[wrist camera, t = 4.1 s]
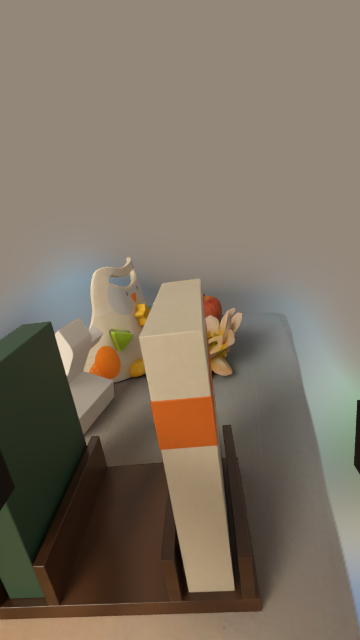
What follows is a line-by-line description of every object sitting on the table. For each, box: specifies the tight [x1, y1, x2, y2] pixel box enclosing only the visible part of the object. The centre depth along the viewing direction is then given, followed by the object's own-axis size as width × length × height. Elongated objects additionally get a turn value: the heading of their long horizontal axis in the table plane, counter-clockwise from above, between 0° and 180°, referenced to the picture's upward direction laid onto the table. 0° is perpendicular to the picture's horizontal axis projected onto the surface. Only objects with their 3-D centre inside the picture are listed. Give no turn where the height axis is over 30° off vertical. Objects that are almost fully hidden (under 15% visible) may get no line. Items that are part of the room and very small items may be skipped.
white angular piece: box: [55, 318, 114, 435], centre depth 41 cm, size 8×14×14 cm, turn 164°
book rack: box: [0, 425, 261, 619], centre depth 25 cm, size 18×12×13 cm, turn 87°
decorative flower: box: [205, 308, 242, 376], centre depth 52 cm, size 15×11×10 cm
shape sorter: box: [83, 257, 153, 383], centre depth 55 cm, size 20×10×18 cm, turn 162°
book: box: [139, 279, 235, 592], centre depth 23 cm, size 3×11×18 cm, turn 177°
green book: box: [0, 322, 87, 599], centre depth 24 cm, size 3×11×16 cm, turn 177°
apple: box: [202, 294, 222, 321], centre depth 66 cm, size 7×7×8 cm
